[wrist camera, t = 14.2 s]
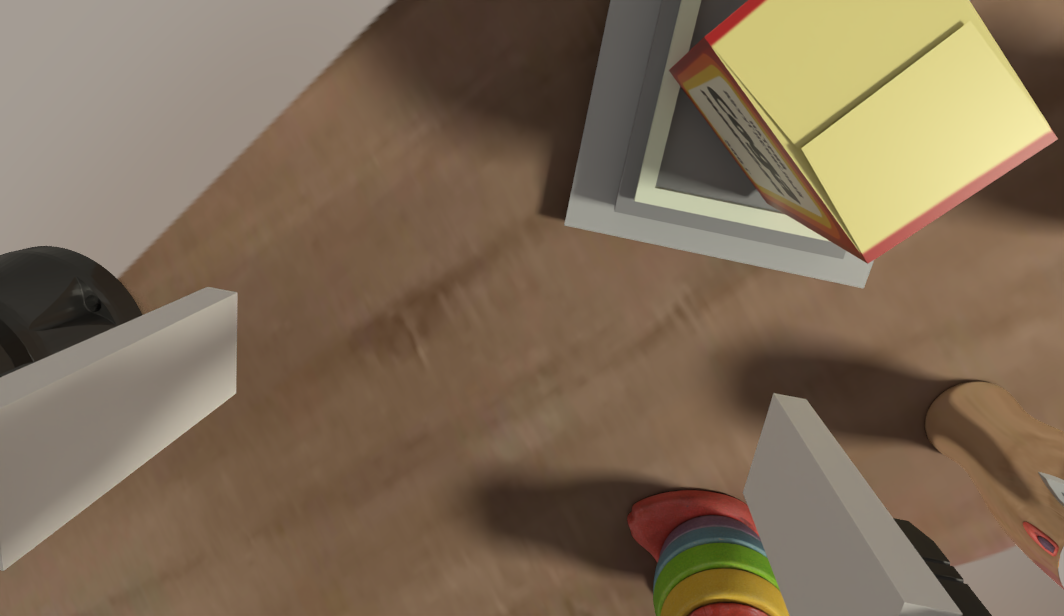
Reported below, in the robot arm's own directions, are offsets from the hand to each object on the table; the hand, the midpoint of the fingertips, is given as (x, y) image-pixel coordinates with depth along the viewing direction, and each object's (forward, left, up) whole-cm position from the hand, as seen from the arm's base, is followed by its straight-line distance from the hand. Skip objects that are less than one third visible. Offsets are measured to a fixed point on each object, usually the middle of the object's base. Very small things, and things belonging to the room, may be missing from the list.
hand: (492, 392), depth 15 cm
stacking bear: (+16, -24, -31) cm, 42 cm away
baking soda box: (+9, +9, -25) cm, 28 cm away
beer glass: (+31, -9, -31) cm, 44 cm away
